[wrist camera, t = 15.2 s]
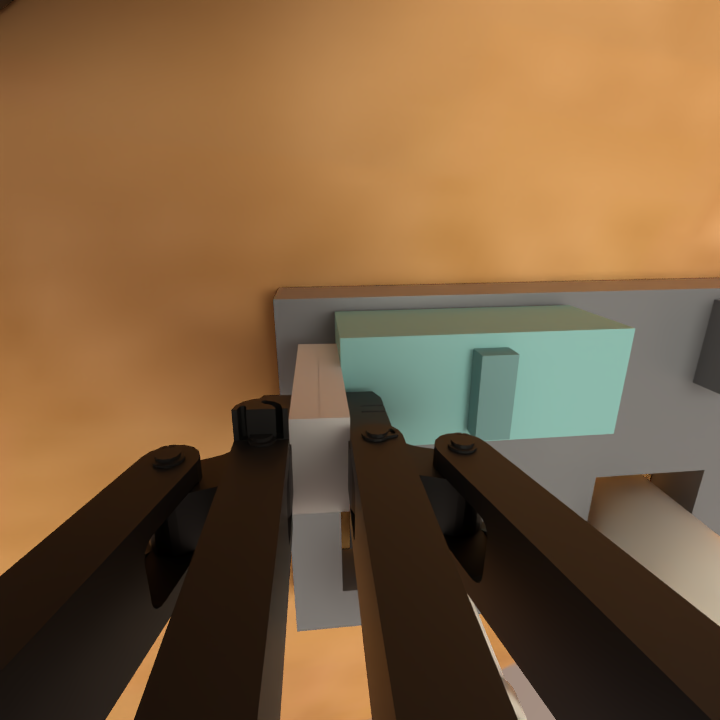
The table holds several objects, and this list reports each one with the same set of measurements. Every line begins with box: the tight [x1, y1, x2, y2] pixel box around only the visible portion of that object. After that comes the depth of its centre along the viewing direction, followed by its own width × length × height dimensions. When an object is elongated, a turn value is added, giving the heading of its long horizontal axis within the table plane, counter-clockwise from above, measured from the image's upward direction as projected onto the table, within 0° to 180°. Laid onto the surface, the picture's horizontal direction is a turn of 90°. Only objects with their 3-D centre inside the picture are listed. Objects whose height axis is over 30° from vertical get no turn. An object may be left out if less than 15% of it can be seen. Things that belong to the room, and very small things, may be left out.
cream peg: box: [587, 474, 720, 626], centre depth 20 cm, size 5×5×12 cm
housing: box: [273, 278, 720, 631], centre depth 21 cm, size 18×24×6 cm
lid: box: [335, 305, 635, 445], centre depth 16 cm, size 4×10×5 cm, turn 90°
